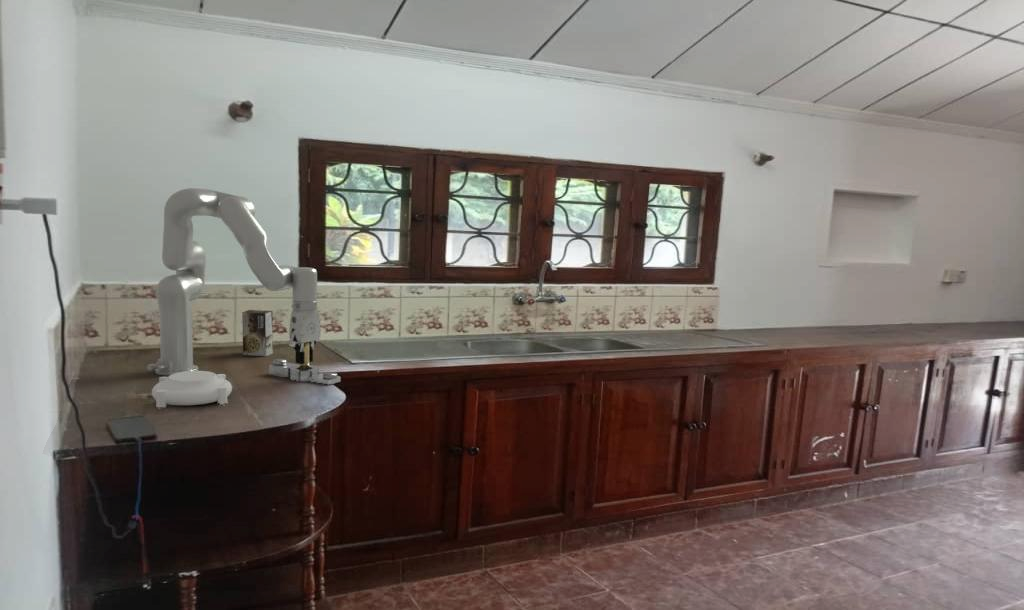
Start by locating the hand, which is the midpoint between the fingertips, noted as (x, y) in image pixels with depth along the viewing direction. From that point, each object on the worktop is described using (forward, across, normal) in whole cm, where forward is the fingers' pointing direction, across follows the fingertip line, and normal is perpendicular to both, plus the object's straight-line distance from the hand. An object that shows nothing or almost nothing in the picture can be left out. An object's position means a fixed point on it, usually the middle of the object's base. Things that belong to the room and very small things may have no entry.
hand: (304, 361), depth 229 cm
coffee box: (+6, +18, +38) cm, 42 cm away
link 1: (+5, 0, +4) cm, 7 cm away
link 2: (+5, 0, -4) cm, 7 cm away
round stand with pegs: (+6, -36, +8) cm, 38 cm away
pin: (+4, 0, 0) cm, 4 cm away
